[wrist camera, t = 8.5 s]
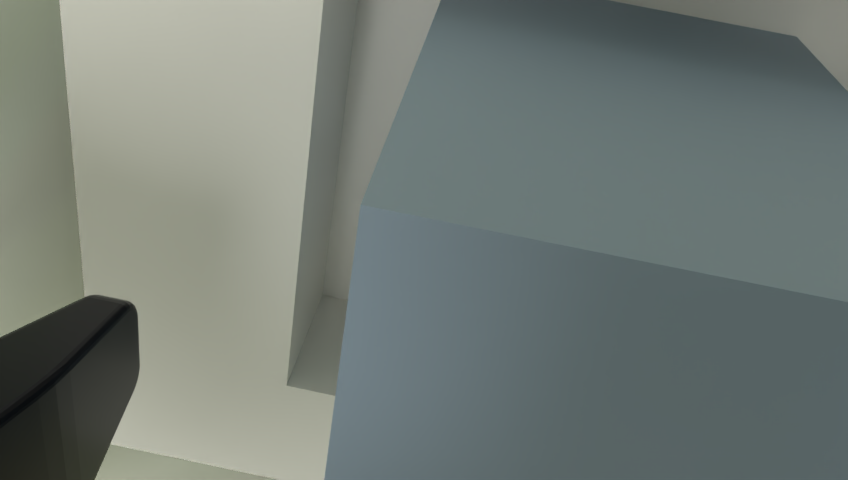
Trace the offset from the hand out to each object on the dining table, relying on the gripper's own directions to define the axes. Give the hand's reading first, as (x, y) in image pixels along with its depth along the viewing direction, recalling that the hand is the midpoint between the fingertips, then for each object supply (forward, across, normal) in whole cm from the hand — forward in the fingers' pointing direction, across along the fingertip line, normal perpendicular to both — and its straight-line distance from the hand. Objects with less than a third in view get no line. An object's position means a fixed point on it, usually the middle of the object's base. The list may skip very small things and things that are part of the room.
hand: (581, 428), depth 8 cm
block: (+6, 0, 0) cm, 6 cm away
